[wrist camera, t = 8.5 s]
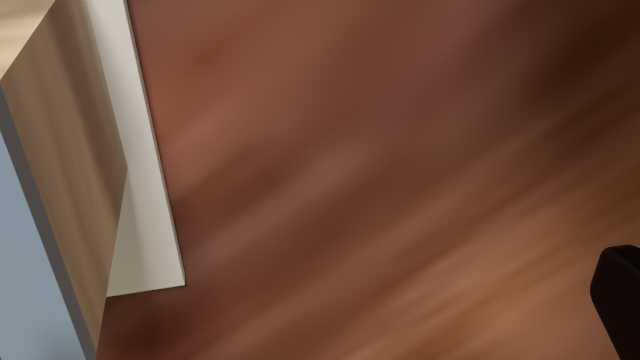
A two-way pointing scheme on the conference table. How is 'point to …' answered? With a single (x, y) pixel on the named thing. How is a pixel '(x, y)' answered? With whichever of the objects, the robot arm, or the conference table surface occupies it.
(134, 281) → the mat
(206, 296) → the conference table surface
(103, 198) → the maple block
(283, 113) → the conference table surface
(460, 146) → the conference table surface
